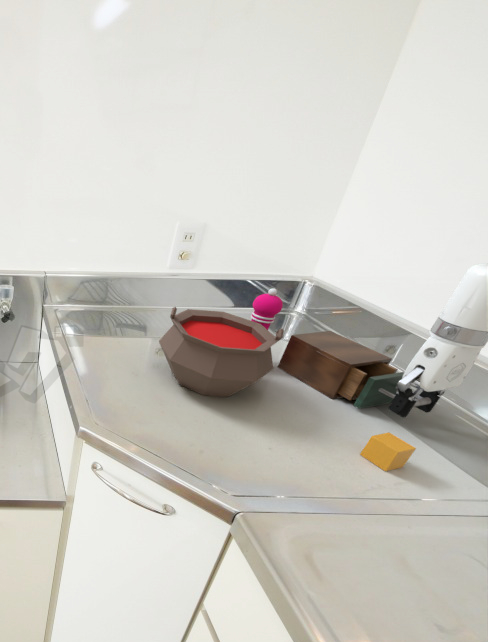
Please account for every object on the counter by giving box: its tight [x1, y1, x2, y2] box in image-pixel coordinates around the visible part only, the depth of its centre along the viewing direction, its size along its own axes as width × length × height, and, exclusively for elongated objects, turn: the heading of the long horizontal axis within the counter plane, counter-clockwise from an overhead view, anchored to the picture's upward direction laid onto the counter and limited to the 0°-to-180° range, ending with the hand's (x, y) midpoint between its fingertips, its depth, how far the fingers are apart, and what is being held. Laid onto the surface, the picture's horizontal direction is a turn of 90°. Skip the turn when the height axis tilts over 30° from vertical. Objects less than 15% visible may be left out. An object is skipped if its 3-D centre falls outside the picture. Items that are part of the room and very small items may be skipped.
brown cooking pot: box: [158, 306, 285, 398], centre depth 96 cm, size 24×24×16 cm
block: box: [359, 432, 417, 472], centre depth 76 cm, size 4×4×4 cm
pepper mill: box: [250, 287, 284, 331], centre depth 104 cm, size 7×7×20 cm
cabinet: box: [277, 330, 393, 400], centre depth 101 cm, size 15×13×9 cm
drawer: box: [338, 363, 431, 409], centre depth 93 cm, size 20×11×7 cm, turn 16°
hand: (408, 410), depth 87 cm, fingers closed on drawer, 6 cm apart
